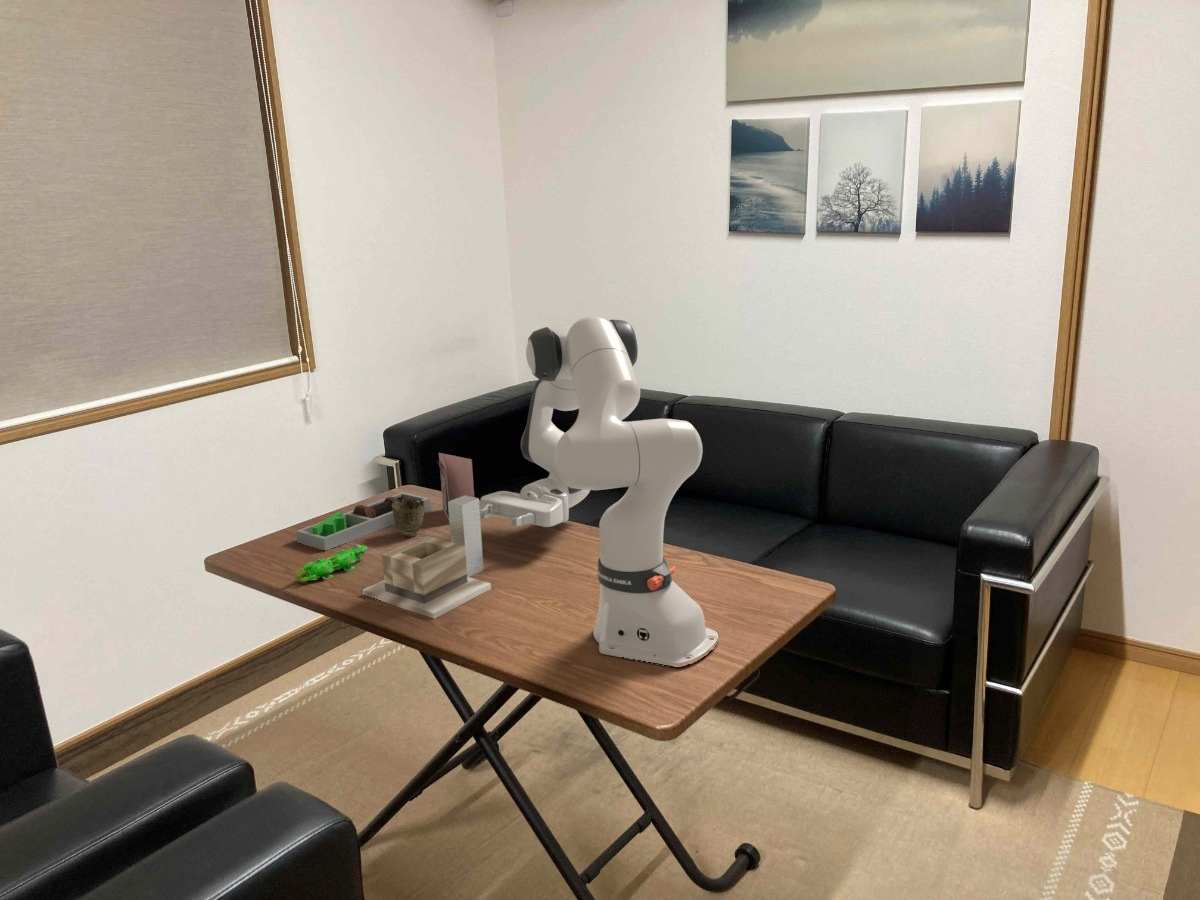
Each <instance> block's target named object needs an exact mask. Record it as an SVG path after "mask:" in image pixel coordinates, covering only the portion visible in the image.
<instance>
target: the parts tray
mask: <svg viewBox="0 0 1200 900" xmlns="http://www.w3.org/2000/svg"><path fill="white" fill-rule="evenodd" d="M401 496H402V497H404V498H406V499H408V498H411V499H412V500H413V499H415V501H416V502H419V501H420V499H421V500H422V501H424V513H426V512H428V511H431V509H432V507H431V498H430V497H425V496H421V495H416V494H412V493H407V492H404V491H402V492H400V493H396V494H394V495H391V496H389V497H395V498H398V497H401ZM386 498H387V497H386ZM386 498H383V499H380V500H377V501H375V502H371V503H369V504H365V506H367V507H371V506H374V505H377V504H380V503H383V502H384V501H385V499H386ZM353 511H354V509H352V510H350V511H347V512H344V513H342V515H343V517H345V518H346V528H347V529H344V530H341V531H339V532H336V533H334V534H331V535H328V536H326V537H324V536H320V535H317V534H313V530H312V528H313V527H315V526H316V525H318V524H320V523H321V522H323V521H324V520H322V521H319V522H317V523H313V524H312V525H308V526H306V527H303V528H300V529H298V530H296V531H295V532H296V541H297V544H299V543H301V544H300V545H302V544H305V545H304V546H306V545H308V546H307V547H309V546H311V547H310V548H312V547H315V548H314V549H316V548H318V549H317V550H319V549H322V550H325V551H324V552H327V551H326V550H328V551H330V550H332V549H331V548H333V549H335V548H334V547H336V548H337V546H338V547H340V546H339V545H341V546H343V545H346V544H348V543H351V542H353V541H355V539H356V540H357V539H360V538H364V537H366V536H369V535H370V534H373V533H377V532H378V531H380V530H383V529H386V528H389V527H390V526H394V525H396V523H395V519H394V515H393V511H391V512H389V513H386V514H383V515H381V516H378V517H376V518H373V519H372V518H368V517H364V516H360V515H356V514H353ZM345 543H346V544H345ZM342 544H343V545H342ZM329 549H330V550H329ZM322 550H321V551H322Z"/></svg>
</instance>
